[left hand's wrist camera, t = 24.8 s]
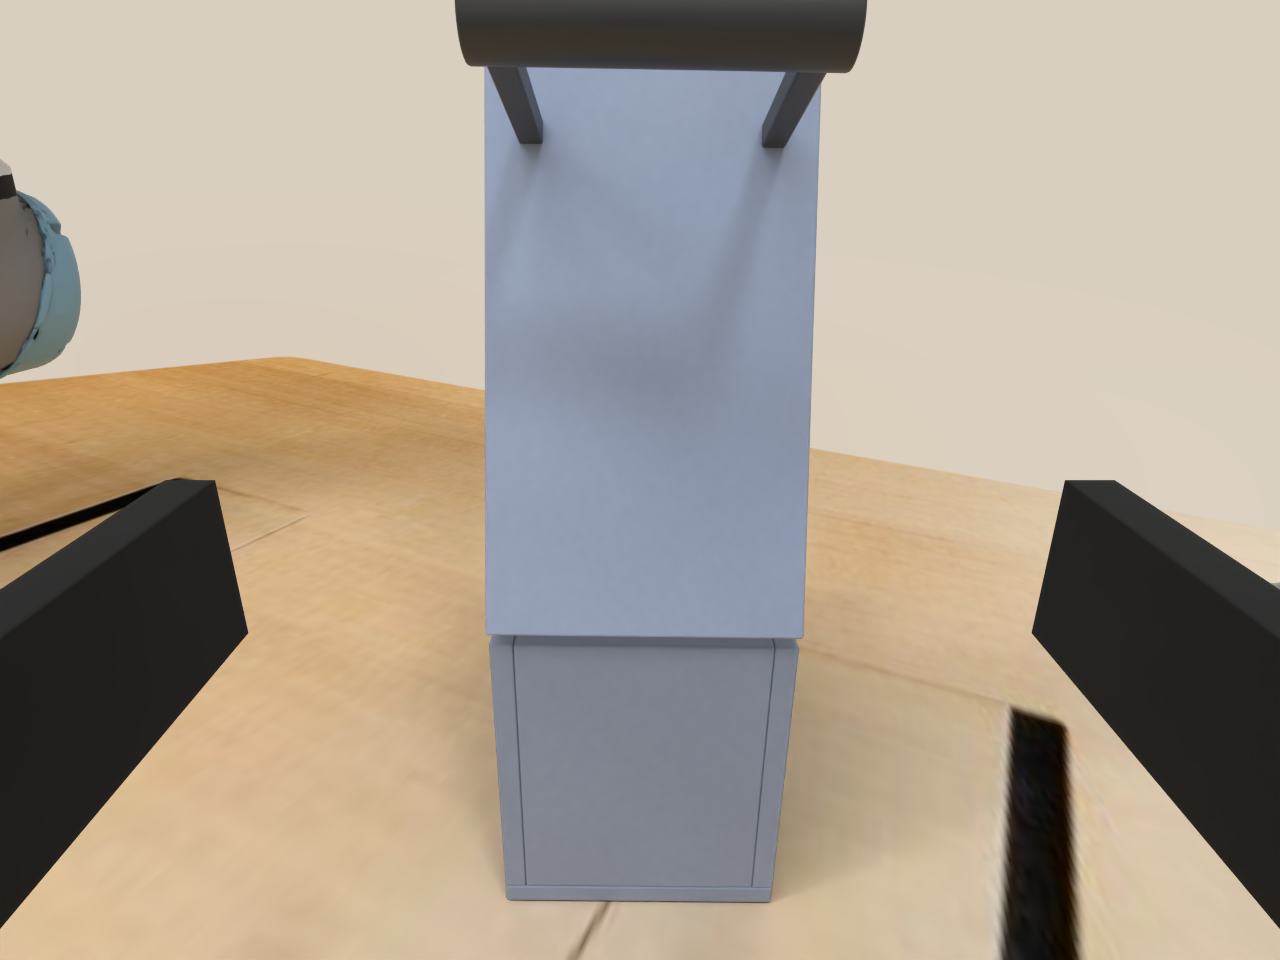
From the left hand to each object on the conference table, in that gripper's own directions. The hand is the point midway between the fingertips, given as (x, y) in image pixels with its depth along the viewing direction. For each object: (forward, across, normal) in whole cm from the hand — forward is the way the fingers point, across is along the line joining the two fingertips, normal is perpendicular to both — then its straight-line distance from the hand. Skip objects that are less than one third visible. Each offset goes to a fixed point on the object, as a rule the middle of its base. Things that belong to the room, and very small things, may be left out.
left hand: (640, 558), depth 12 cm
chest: (+18, 0, -19) cm, 27 cm away
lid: (+13, 0, +1) cm, 13 cm away
